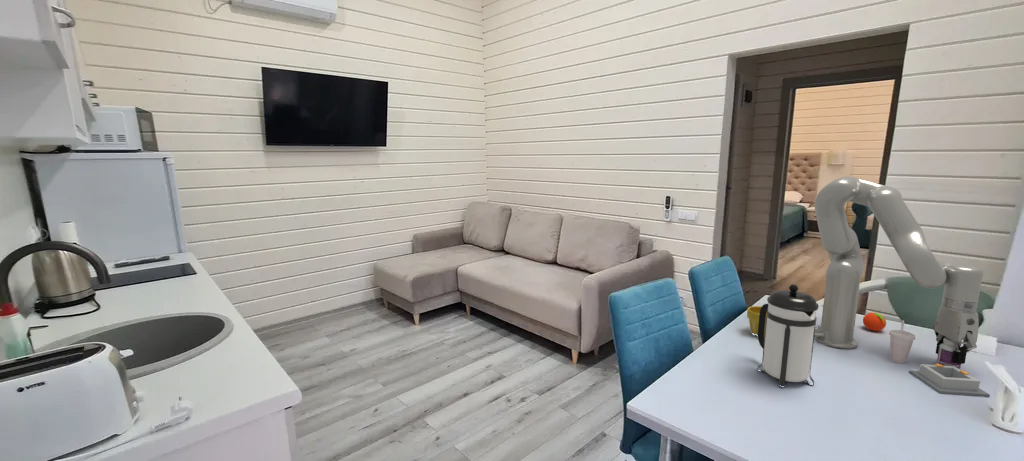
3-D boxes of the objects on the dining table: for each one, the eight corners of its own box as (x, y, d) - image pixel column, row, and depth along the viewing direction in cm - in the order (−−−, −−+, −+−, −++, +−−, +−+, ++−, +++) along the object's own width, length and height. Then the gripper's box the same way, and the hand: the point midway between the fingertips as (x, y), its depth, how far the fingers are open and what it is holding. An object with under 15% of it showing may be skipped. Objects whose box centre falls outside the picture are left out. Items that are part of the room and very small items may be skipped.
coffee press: (818, 375, 131) (829, 283, 126) (809, 396, 120) (820, 296, 115) (755, 358, 143) (763, 273, 138) (742, 376, 132) (750, 284, 126)
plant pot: (757, 327, 168) (759, 304, 166) (783, 337, 159) (785, 312, 157) (739, 332, 164) (741, 308, 162) (764, 342, 155) (766, 317, 153)
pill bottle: (964, 373, 131) (970, 344, 129) (944, 371, 132) (949, 342, 130) (951, 364, 136) (955, 336, 135) (931, 363, 137) (936, 335, 136)
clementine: (892, 335, 159) (895, 317, 158) (873, 335, 159) (876, 317, 158) (874, 326, 167) (877, 309, 166) (857, 326, 167) (859, 309, 166)
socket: (939, 393, 120) (942, 380, 120) (908, 372, 132) (910, 360, 131) (989, 397, 118) (992, 383, 117) (953, 375, 130) (955, 362, 129)
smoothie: (904, 357, 141) (911, 318, 139) (915, 366, 135) (922, 325, 133) (881, 355, 143) (887, 316, 141) (891, 364, 137) (897, 323, 135)
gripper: (999, 314, 122) (988, 372, 125) (950, 295, 138) (941, 347, 141) (968, 313, 123) (958, 370, 126) (923, 294, 139) (915, 345, 143)
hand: (949, 357), depth 134 cm, fingers closed on pill bottle, 5 cm apart
